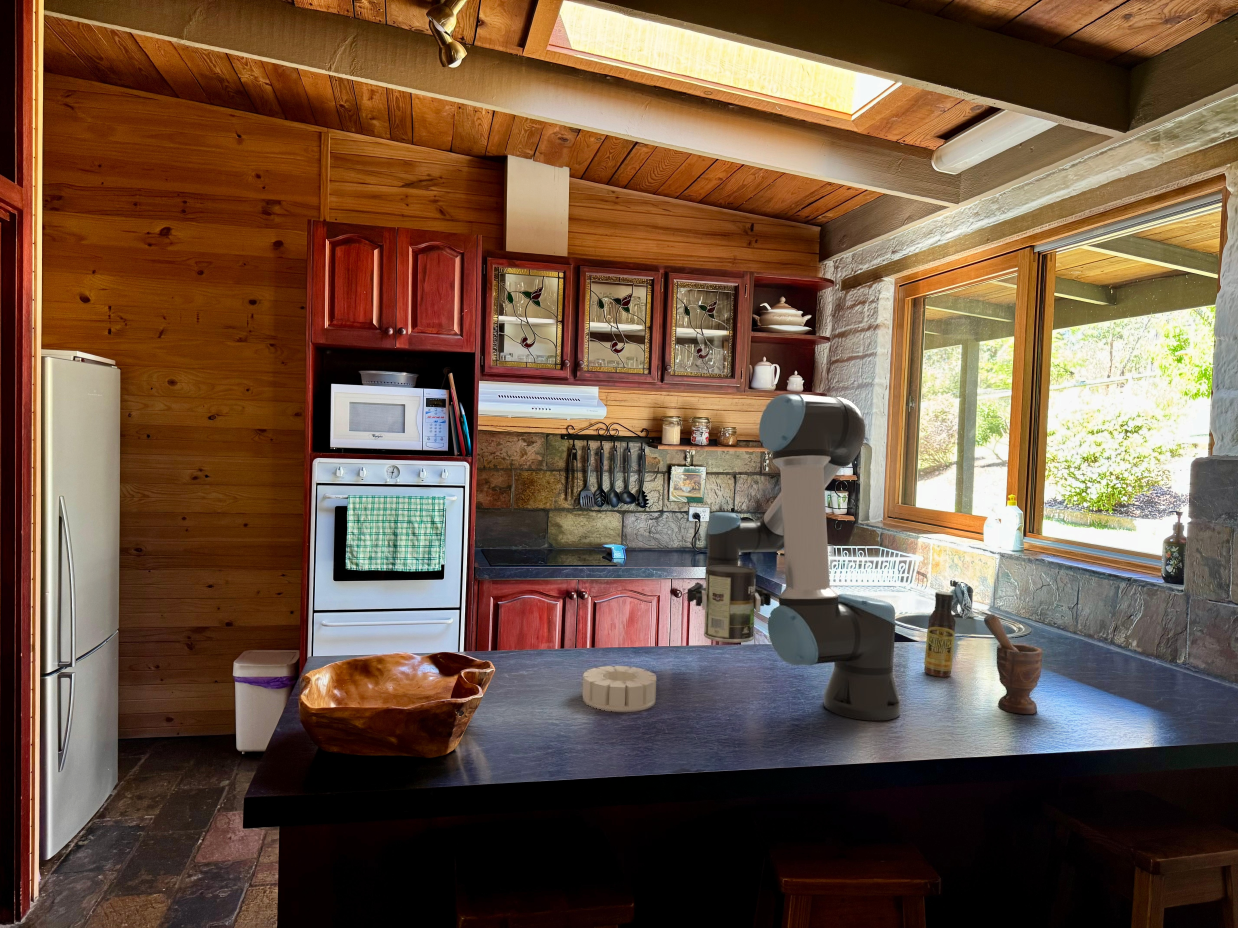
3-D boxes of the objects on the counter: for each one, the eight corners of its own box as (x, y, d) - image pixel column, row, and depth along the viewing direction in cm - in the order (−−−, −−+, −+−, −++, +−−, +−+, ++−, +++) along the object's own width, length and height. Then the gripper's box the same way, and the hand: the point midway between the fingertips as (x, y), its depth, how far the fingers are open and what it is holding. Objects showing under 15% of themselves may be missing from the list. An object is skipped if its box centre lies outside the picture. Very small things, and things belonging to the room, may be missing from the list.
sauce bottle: (923, 675, 196) (927, 593, 195) (924, 669, 202) (928, 589, 201) (953, 679, 193) (957, 595, 193) (952, 672, 199) (956, 591, 199)
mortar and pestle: (1006, 719, 166) (1011, 621, 165) (973, 705, 174) (978, 612, 173) (1048, 713, 170) (1053, 618, 170) (1014, 701, 178) (1019, 609, 178)
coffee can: (755, 633, 172) (757, 566, 171) (752, 644, 162) (755, 573, 161) (705, 629, 174) (708, 563, 173) (700, 640, 164) (703, 570, 163)
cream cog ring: (656, 690, 176) (656, 667, 176) (654, 713, 161) (655, 688, 161) (586, 687, 177) (587, 664, 177) (578, 709, 162) (579, 684, 162)
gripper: (774, 604, 185) (788, 625, 162) (674, 599, 186) (674, 620, 164) (775, 570, 185) (789, 587, 162) (675, 566, 186) (675, 582, 164)
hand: (731, 604), depth 163 cm, fingers closed on coffee can, 10 cm apart
